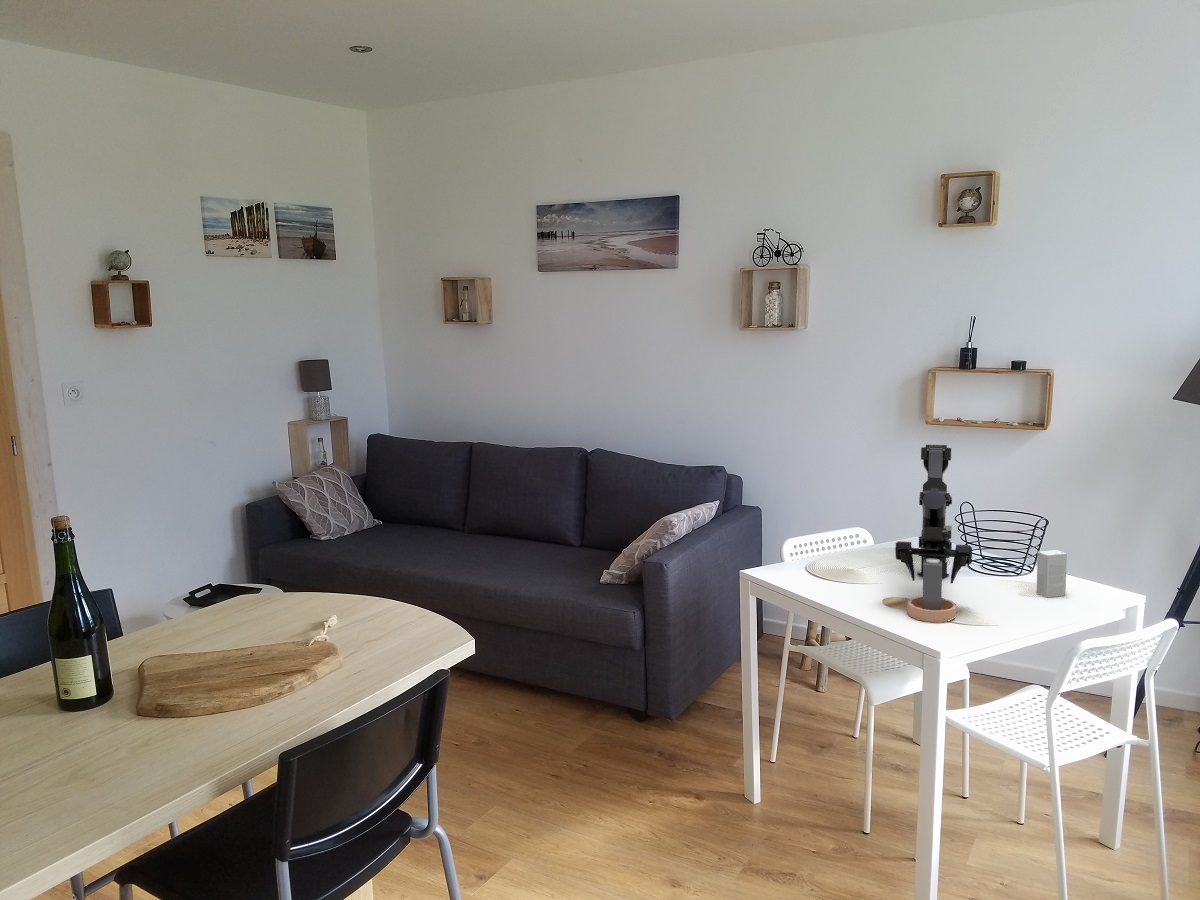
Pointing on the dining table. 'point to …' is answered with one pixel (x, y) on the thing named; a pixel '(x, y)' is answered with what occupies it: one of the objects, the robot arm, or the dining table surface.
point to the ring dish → (931, 611)
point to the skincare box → (1051, 573)
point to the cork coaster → (896, 602)
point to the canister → (932, 584)
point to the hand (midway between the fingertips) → (932, 581)
